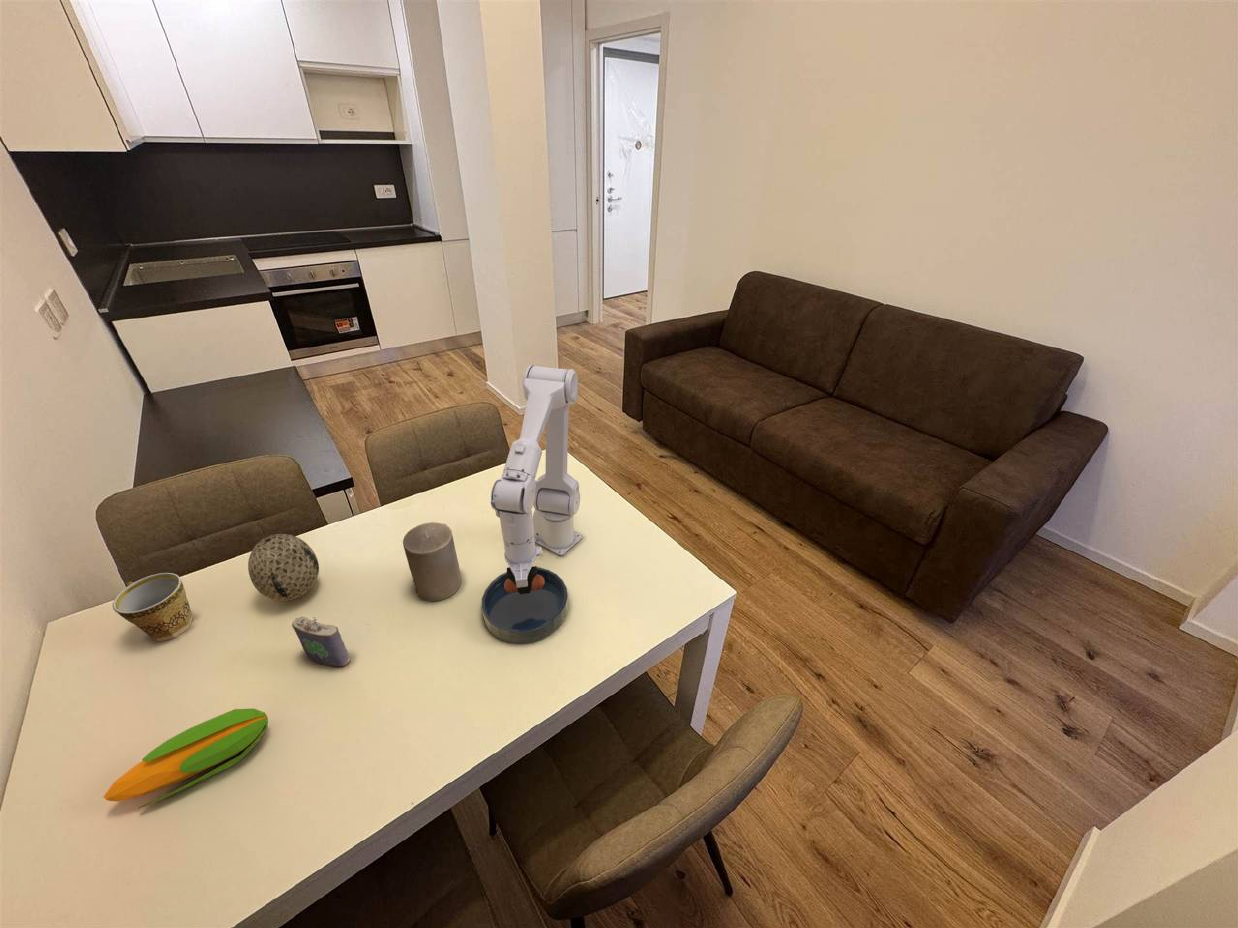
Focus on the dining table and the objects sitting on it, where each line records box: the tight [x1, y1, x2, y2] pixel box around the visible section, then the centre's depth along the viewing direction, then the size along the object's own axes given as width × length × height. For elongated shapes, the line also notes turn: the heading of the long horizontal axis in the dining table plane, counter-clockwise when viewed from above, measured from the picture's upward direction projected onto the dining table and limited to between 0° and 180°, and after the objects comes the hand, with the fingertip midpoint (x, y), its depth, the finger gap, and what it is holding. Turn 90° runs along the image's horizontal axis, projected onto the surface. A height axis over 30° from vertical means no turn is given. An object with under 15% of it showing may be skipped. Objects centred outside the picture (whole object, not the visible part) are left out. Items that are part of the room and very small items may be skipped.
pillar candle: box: [402, 521, 462, 602], centre depth 106 cm, size 10×10×15 cm
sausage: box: [504, 575, 545, 593], centre depth 101 cm, size 8×3×3 cm, turn 100°
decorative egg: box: [247, 533, 320, 602], centre depth 104 cm, size 12×12×15 cm
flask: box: [291, 616, 352, 668], centre depth 92 cm, size 9×3×11 cm, turn 74°
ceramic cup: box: [112, 572, 194, 642], centre depth 98 cm, size 13×10×10 cm
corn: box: [102, 708, 269, 810], centre depth 76 cm, size 7×8×20 cm
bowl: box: [481, 566, 569, 645], centre depth 104 cm, size 17×17×4 cm
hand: (524, 585), depth 102 cm, fingers closed on sausage, 3 cm apart
